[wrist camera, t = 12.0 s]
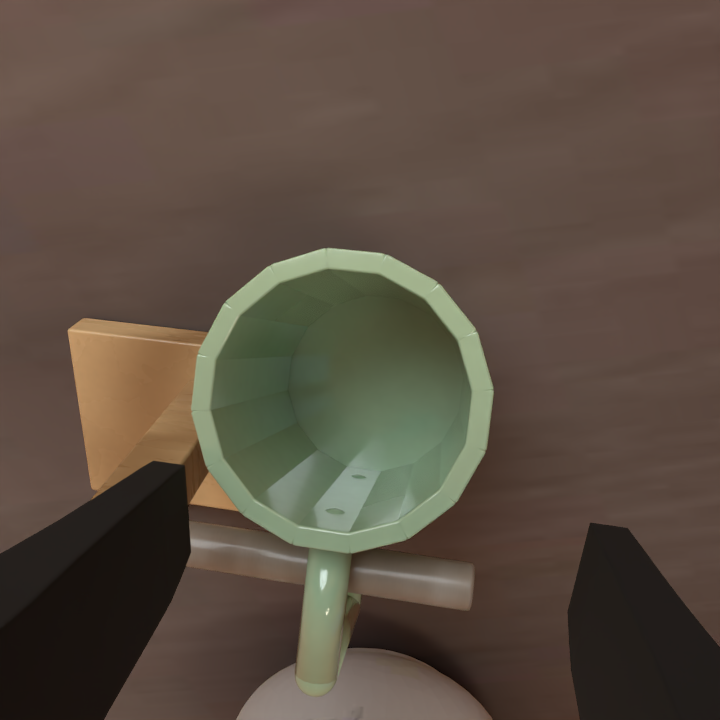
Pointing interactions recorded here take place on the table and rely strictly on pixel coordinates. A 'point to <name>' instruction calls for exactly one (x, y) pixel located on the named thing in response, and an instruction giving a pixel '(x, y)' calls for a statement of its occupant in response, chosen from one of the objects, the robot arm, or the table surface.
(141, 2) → the table surface
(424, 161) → the table surface
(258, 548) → the mug stand
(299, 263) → the mug
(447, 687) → the teacup
